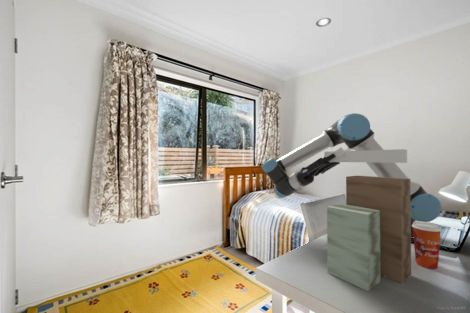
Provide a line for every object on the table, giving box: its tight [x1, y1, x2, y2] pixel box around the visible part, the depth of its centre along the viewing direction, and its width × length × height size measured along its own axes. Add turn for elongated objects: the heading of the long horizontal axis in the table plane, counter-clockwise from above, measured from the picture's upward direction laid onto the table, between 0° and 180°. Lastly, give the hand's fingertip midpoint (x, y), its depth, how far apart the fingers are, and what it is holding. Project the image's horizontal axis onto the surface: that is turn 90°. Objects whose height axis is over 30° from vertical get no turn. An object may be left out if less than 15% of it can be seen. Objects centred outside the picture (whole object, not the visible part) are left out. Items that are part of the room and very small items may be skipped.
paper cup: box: [412, 220, 443, 270], centre depth 73 cm, size 8×8×14 cm
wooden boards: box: [326, 175, 412, 292], centre depth 68 cm, size 20×16×30 cm
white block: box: [323, 148, 408, 164], centre depth 75 cm, size 4×25×4 cm, turn 35°
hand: (346, 150), depth 79 cm, fingers closed on white block, 4 cm apart
